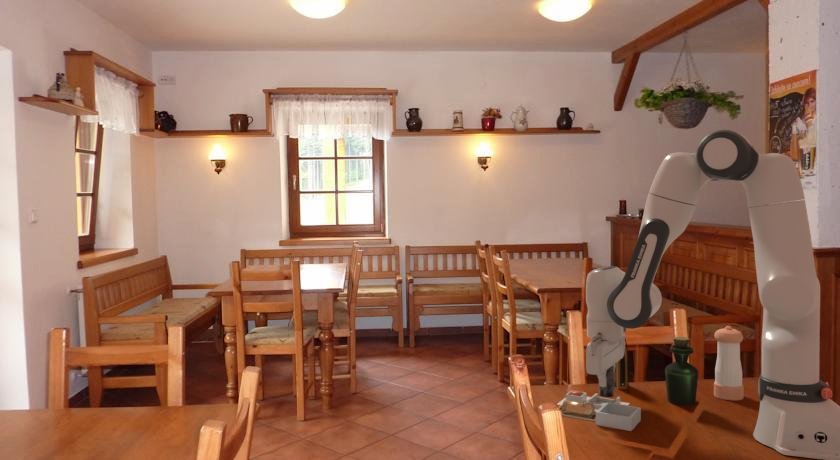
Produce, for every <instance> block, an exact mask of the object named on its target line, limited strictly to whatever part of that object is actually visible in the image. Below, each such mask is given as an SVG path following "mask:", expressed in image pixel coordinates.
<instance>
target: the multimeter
mask: <svg viewBox="0 0 840 460" xmlns="http://www.w3.org/2000/svg"><path fill="white" fill-rule="evenodd" d="M628 351H629V349H628V343H627V339H626V337H625V351H624V356H623V358H622V359H620V360H619V361H618V362H617V363H615V371H614V388H616V389H617V390H627V393H630V390H629V388H630V384H629V379H630V358H629V352H628Z"/></svg>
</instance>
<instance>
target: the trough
mask: <svg viewBox="0 0 840 460" xmlns="http://www.w3.org/2000/svg"><path fill="white" fill-rule="evenodd" d="M558 407H559V408H560V409H559V410H562V405H558ZM595 414H596V411H595ZM562 415H563V416H562V417H566V418H572V419H577V420H578V419H579V420H585V421H589V422H595V423H596V416H595V417H594V418H585V417H579V416H574V415H568V414H563V413H562Z"/></svg>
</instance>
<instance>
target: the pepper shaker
mask: <svg viewBox="0 0 840 460" xmlns="http://www.w3.org/2000/svg"><path fill="white" fill-rule="evenodd" d="M714 339H715V341H717V345H716V346H717V348H716V349H717V351H716V352H717V353H716V354H717V355H716V362H715V366H714V367H715V368H714V379H715V380H714V382H713V395H714V397H715V398H718V399H721V400H725V401H726V400H727V401H742V400H743V399H744V398H745V396H744V395H745V393H744V392H745V391H744V390H745V389H744V384H743V369H742V368H743V367H742V362H741V345H740V344H741V343H742V341H743V339H744V336H743V333H742V332H741V331H740V330H737V329H735V328H732V326H730V325H726V326H725V327H724V328H719V329H717V330H716V331H715V332H714Z"/></svg>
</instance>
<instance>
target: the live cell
mask: <svg viewBox="0 0 840 460" xmlns="http://www.w3.org/2000/svg"><path fill="white" fill-rule="evenodd" d="M561 413H562V414H567V415H573V416H579V417H584V418H590V419H592V417H594V415H596V413H595V407H594V405H593V404H588V403H582V402H576V401H570V400H564V402H563V404H562V408H561Z"/></svg>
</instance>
